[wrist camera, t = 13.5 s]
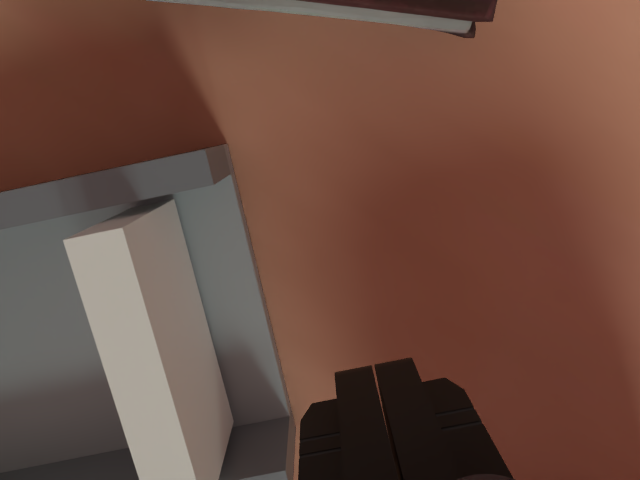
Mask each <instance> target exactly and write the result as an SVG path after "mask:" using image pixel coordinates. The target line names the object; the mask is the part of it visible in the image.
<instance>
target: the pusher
mask: <svg viewBox="0 0 640 480" xmlns="http://www.w3.org/2000/svg"><path fill="white" fill-rule="evenodd" d="M63 242H64V246H65V249H66V252H67V255H68V258H69V261H70V264H71V267H72V271H73V274H74V277H75V280H76V283H77V286H78V289H79V293H80V296H81V299H82V302H83V305H84V308H85V311H86V314H87V318H88V321H89V324H90V327H91V330H92V333H93V336H94V340H95V343H96V346H97V349H98V352H99V355H100V358H101V362H102V365H103V368H104V371H105V374H106V377H107V380H108V383H109V387H110V390H111V393H112V396H113V399H114V402H115V405H116V409H117V412H118V415H119V418H120V421H121V424H122V427H123V430H124V434H125V437H126V440H127V443H128V446H129V449H130V452H131V456H132V459H133V462H134V465H135V468H136V471H137V474H138V477H139V480H218V479H219V476H220V472H221V468H222V464H223V460H224V456H225V453H226V449H227V445H228V441H229V437H230V433H231V430H232V426H233V422H234V421H233V417H232V413H231V409H230V406H229V402H228V398H227V395H226V391H225V387H224V383H223V380H222V376H221V372H220V368H219V365H218V361H217V357H216V354H215V350H214V346H213V342H212V339H211V335H210V331H209V327H208V324H207V320H206V316H205V313H204V309H203V305H202V301H201V298H200V294H199V290H198V287H197V283H196V279H195V275H194V272H193V268H192V264H191V260H190V257H189V253H188V249H187V246H186V242H185V238H184V234H183V231H182V227H181V223H180V219H179V216H178V212H177V208H176V205H175V201H174V199H172V200H167V201H162V202H157V203H153V204H148V205H143V206H138V207H133V208H130V209H128V210H125V211H123V212H121V213H119V214H117V215H115V216H113V217H111V218H109V219H106V220H104V221H102V222H100V223H98V224H96V225H94V226H92V227H89V228H87V229H85V230H83V231H81V232H79V233H77V234H75V235H73V236H70V237H68V238H66V239H64V240H63Z"/></svg>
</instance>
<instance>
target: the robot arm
mask: <svg viewBox="0 0 640 480" xmlns="http://www.w3.org/2000/svg"><path fill="white" fill-rule="evenodd" d="M375 371H376V376H377V381H378V386H379V391H380V396H381V401H382V407H383V412H384V416H383V412H382V408H381V404H380V400H379V395H378V391H377V387H376V383H375V378H374V374H373V370H372V366H371V365H370V366H365V367H360V368H355V369H350V370H345V371H339V372H335V383H336V395H337V399H332V400H327V401H322V402H317V403H312V404H311V406H310V407H309V409H308V410H307V412H306V413H305V415H304V416H303V418H302V419H301V423H300V449H299V456H300V459H299V475H298V480H515V479H513V477H512V475H511V473H510V472H509V470H508V468H507V466H506V464H505V463H504V461H503V459H502V457H501V455H500V454H499V452H498V450H497V448H496V446H495V445H494V443H493V441H492V439H491V437H490V435H489V434H488V432H487V430H486V428H485V426H484V425H483V424H482V422H481V419H480V417H479V416H478V414H477V412H476V410H474V407H473V405H472V403H471V401H470V399H469V398H468V396H467V394H466V392H465V390H464V389H462V388H461V387H459V386H458V385H456V384H454V383H453V382H451V381H450V380H448V379H446V378H441V379H436V380H431V381H426V382H422V381H421V379H420V376H419V374H418V371H417V369H416V366H415V364H414V362H413V359H412V358H406V359H401V360H396V361H391V362H385V363H380V364H375ZM384 417H385V421H384ZM385 422H386V425H385ZM386 427H387V429H386ZM387 432H388V433H387ZM388 437H389V438H388Z"/></svg>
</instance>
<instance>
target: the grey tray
mask: <svg viewBox="0 0 640 480" xmlns="http://www.w3.org/2000/svg"><path fill="white" fill-rule="evenodd" d="M172 199H174V201H175V205H176V208H177V212H178V216H179V219H180V223H181V227H182V231H183V234H184V238H185V242H186V246H187V249H188V253H189V257H190V260H191V264H192V268H193V272H194V275H195V279H196V283H197V287H198V290H199V294H200V298H201V301H202V305H203V309H204V313H205V316H206V320H207V324H208V327H209V331H210V335H211V339H212V342H213V346H214V350H215V354H216V357H217V361H218V365H219V368H220V372H221V376H222V380H223V383H224V387H225V391H226V395H227V398H228V402H229V406H230V409H231V413H232V417H233V421H234V422H233V426H232V430H231V433H230V437H229V441H228V445H227V449H226V453H225V456H224V460H223V464H222V468H221V472H220V476H219V479H218V480H293V474H294V454H295V435H296V426H295V422H294V418H293V414H292V410H291V406H290V401H289V397H288V393H287V389H286V385H285V381H284V376H283V372H282V368H281V364H280V360H279V356H278V352H277V347H276V343H275V339H274V335H273V331H272V327H271V323H270V318H269V314H268V310H267V306H266V302H265V298H264V294H263V289H262V285H261V281H260V277H259V273H258V269H257V265H256V260H255V256H254V252H253V248H252V244H251V240H250V236H249V231H248V227H247V223H246V219H245V215H244V211H243V206H242V202H241V198H240V194H239V190H238V186H237V182H236V177H235V173H234V169H233V165H232V161H231V157H230V153H229V148H228V144H223V145H219V146H214V147H209V148H205V149H200V150H195V151H191V152H186V153H181V154H176V155H172V156H167V157H162V158H158V159H153V160H148V161H143V162H139V163H134V164H129V165H125V166H120V167H115V168H110V169H106V170H101V171H96V172H92V173H87V174H82V175H77V176H73V177H68V178H63V179H59V180H54V181H49V182H44V183H40V184H35V185H30V186H26V187H21V188H16V189H11V190H7V191H2V192H0V480H139V477H138V474H137V471H136V468H135V465H134V462H133V459H132V456H131V452H130V449H129V446H128V443H127V440H126V437H125V434H124V430H123V427H122V424H121V421H120V418H119V415H118V412H117V409H116V405H115V402H114V399H113V396H112V393H111V390H110V387H109V383H108V380H107V377H106V374H105V371H104V368H103V365H102V362H101V358H100V355H99V352H98V349H97V346H96V343H95V340H94V336H93V333H92V330H91V327H90V324H89V321H88V318H87V314H86V311H85V308H84V305H83V302H82V299H81V296H80V293H79V289H78V286H77V283H76V280H75V277H74V274H73V271H72V267H71V264H70V261H69V258H68V255H67V252H66V249H65V246H64V242H63V240H64V239H66V238H68V237H70V236H73V235H75V234H77V233H79V232H81V231H83V230H85V229H87V228H89V227H92V226H94V225H96V224H98V223H100V222H102V221H104V220H106V219H109V218H111V217H113V216H115V215H117V214H119V213H121V212H123V211H125V210H128V209H130V208H133V207H138V206H143V205H148V204H153V203H157V202H162V201H167V200H172Z"/></svg>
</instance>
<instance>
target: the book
mask: <svg viewBox="0 0 640 480" xmlns="http://www.w3.org/2000/svg"><path fill="white" fill-rule="evenodd" d="M148 1H158V2H170V3H182V4H193V5H204V6H215V7H225V8H234V9H248V10H262V11H271V12H281V13H291V14H301V15H311V16H321V17H330V18H340V19H349V20H359V21H368V22H378V23H387V24H396V25H403V26H410V27H416V28H423V29H430V30H436V31H441V32H445V33H450V34H453V35H457V36H460V37H463V38H474V37H475V30H476V27H475V22H493V18H494V13H495V8H496V3H497V0H148Z"/></svg>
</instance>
